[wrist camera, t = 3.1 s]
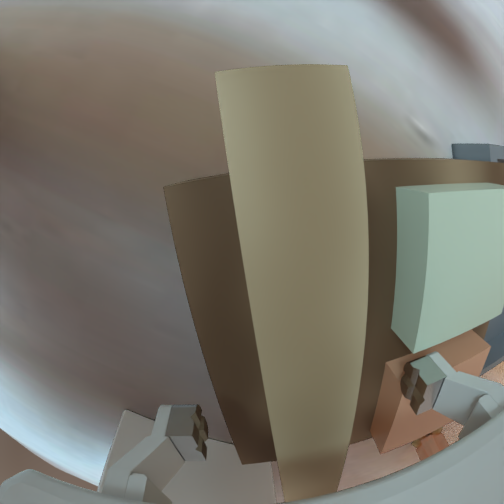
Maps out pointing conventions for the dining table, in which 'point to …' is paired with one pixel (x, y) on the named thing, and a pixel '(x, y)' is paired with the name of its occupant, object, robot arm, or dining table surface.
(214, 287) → the dark wooden square block
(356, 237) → the bar
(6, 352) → the dining table surface
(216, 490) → the gable box
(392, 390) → the terracotta tile
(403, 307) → the sage tile
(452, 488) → the robot arm
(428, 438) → the grandmother figurine
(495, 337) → the box
